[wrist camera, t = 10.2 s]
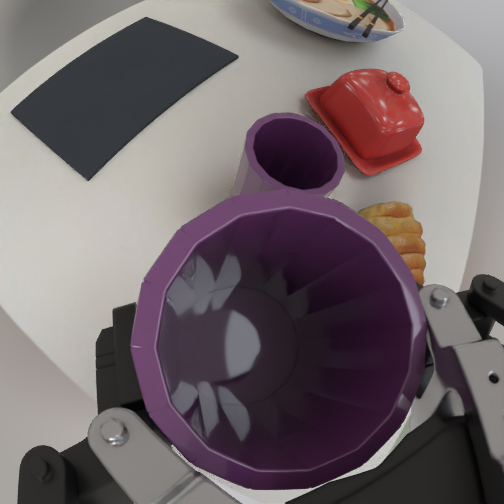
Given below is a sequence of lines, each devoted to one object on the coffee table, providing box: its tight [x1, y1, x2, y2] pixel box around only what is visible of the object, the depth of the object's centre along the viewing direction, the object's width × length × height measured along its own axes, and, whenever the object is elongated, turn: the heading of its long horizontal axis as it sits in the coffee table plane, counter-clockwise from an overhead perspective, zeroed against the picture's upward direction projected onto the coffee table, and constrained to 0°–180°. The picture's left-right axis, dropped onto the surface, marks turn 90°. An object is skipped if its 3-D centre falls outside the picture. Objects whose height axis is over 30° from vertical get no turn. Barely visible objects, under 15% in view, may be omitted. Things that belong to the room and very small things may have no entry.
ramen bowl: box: [269, 0, 406, 42], centre depth 34 cm, size 25×23×8 cm
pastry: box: [358, 202, 426, 285], centre depth 25 cm, size 9×7×4 cm
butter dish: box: [305, 69, 424, 175], centre depth 27 cm, size 12×12×8 cm
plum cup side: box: [230, 113, 345, 198], centre depth 22 cm, size 6×6×8 cm
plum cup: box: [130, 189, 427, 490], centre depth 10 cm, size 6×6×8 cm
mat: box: [11, 17, 238, 181], centre depth 27 cm, size 22×16×1 cm
